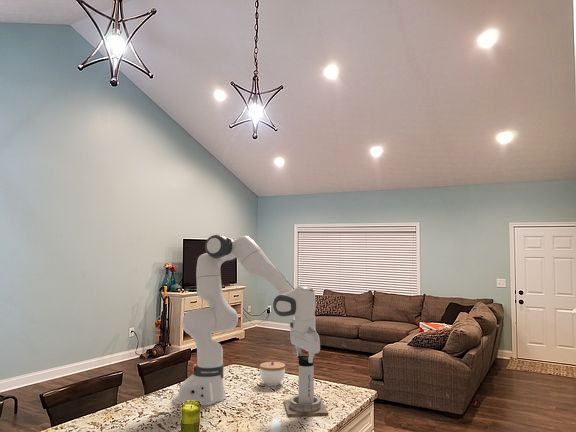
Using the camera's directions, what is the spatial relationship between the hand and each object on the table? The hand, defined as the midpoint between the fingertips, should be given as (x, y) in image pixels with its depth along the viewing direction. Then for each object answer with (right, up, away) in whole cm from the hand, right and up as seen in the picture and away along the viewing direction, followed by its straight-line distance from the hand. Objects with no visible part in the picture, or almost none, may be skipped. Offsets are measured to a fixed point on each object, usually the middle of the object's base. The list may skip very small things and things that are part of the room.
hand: (304, 359), depth 176 cm
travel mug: (0, -19, -2) cm, 19 cm away
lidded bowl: (-14, -23, +32) cm, 42 cm away
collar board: (0, -19, -2) cm, 20 cm away
